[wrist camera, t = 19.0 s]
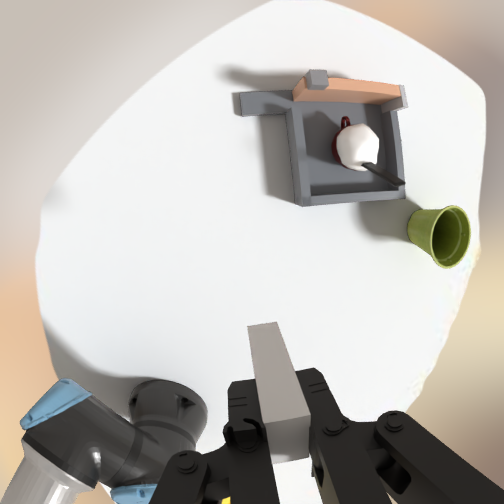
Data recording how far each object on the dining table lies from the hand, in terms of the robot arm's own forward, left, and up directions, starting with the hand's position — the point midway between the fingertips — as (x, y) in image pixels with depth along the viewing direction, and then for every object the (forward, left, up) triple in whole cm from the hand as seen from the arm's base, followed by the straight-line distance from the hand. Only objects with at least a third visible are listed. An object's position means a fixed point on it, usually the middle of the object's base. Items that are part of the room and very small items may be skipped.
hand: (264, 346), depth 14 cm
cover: (+16, +20, -25) cm, 36 cm away
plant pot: (+30, -1, -27) cm, 40 cm away
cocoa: (+16, +11, -25) cm, 32 cm away
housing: (+13, +12, -26) cm, 32 cm away
